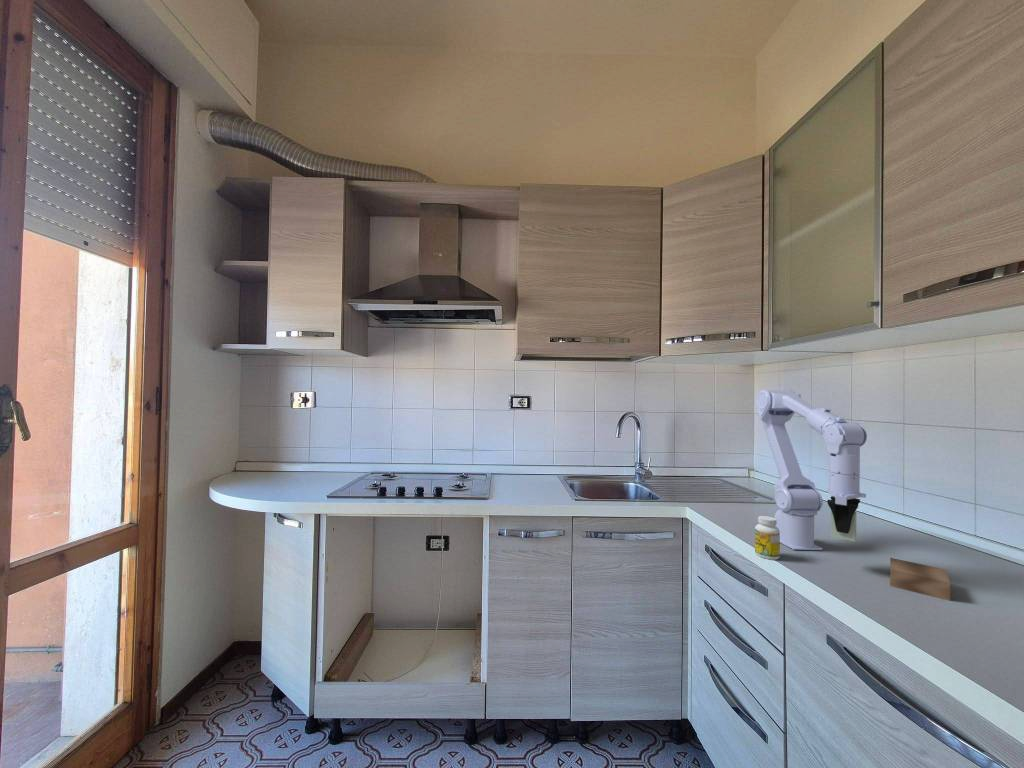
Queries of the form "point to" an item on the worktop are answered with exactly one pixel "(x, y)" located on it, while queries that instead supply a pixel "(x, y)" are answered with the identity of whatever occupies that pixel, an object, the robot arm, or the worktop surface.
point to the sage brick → (849, 536)
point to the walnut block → (920, 578)
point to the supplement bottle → (767, 538)
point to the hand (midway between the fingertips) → (843, 530)
